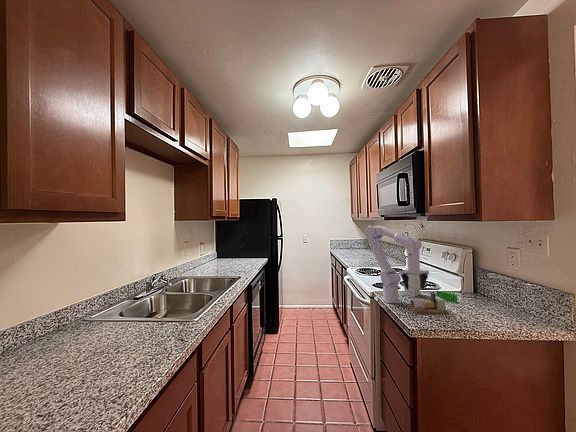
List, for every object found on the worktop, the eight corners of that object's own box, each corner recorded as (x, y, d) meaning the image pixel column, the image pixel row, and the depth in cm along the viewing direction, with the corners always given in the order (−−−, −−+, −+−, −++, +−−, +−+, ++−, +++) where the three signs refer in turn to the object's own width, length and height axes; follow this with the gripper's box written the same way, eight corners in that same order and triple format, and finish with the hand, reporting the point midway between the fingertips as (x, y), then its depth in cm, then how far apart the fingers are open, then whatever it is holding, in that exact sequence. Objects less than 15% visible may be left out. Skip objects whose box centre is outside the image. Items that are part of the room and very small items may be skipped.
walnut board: (406, 306, 144) (406, 304, 144) (435, 305, 144) (435, 304, 144) (416, 314, 132) (416, 311, 132) (448, 313, 132) (448, 311, 132)
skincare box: (410, 292, 171) (409, 267, 171) (421, 294, 166) (420, 268, 166) (403, 295, 166) (403, 269, 166) (414, 297, 161) (413, 270, 161)
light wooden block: (421, 305, 140) (420, 292, 140) (437, 305, 139) (436, 291, 139) (423, 307, 137) (423, 293, 137) (440, 307, 136) (439, 293, 136)
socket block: (431, 305, 141) (431, 296, 141) (438, 305, 141) (437, 296, 141) (438, 309, 134) (437, 300, 134) (445, 309, 134) (445, 300, 134)
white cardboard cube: (410, 306, 140) (410, 298, 140) (420, 306, 140) (420, 298, 140) (414, 309, 136) (413, 301, 136) (424, 309, 136) (424, 301, 136)
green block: (460, 302, 149) (460, 294, 149) (456, 303, 147) (455, 295, 147) (440, 297, 159) (440, 289, 159) (436, 298, 157) (436, 290, 157)
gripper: (402, 263, 138) (403, 290, 138) (431, 263, 137) (432, 290, 137) (397, 261, 145) (398, 287, 145) (425, 261, 144) (426, 287, 144)
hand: (414, 288), depth 141 cm, fingers open, 7 cm apart
